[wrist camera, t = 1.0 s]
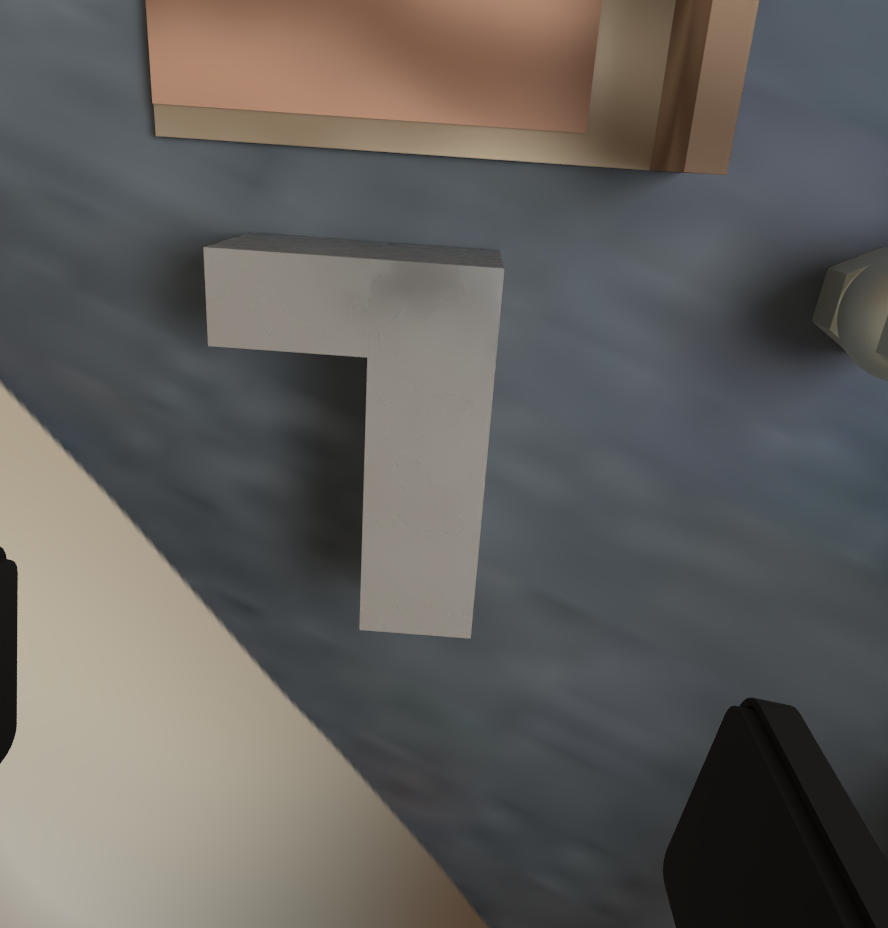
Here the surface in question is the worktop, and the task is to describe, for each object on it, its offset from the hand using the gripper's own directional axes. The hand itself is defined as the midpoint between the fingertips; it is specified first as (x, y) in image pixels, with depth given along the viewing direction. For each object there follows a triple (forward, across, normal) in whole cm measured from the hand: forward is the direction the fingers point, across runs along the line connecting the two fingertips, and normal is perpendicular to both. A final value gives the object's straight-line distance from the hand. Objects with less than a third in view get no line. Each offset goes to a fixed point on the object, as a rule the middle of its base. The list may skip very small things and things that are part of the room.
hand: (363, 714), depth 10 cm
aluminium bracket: (+20, +2, +3) cm, 21 cm away
